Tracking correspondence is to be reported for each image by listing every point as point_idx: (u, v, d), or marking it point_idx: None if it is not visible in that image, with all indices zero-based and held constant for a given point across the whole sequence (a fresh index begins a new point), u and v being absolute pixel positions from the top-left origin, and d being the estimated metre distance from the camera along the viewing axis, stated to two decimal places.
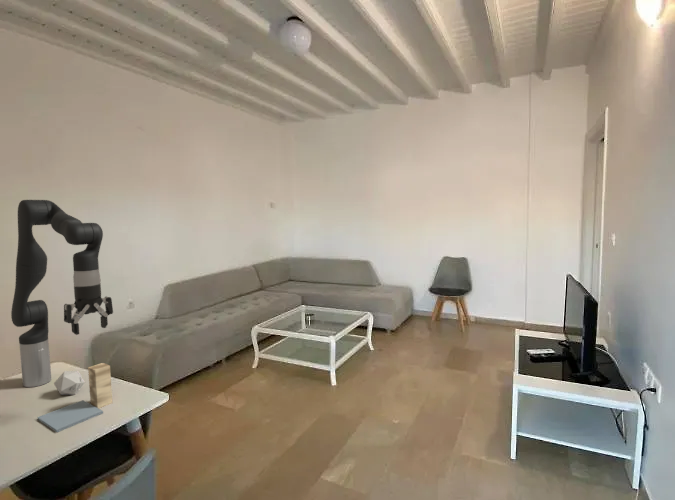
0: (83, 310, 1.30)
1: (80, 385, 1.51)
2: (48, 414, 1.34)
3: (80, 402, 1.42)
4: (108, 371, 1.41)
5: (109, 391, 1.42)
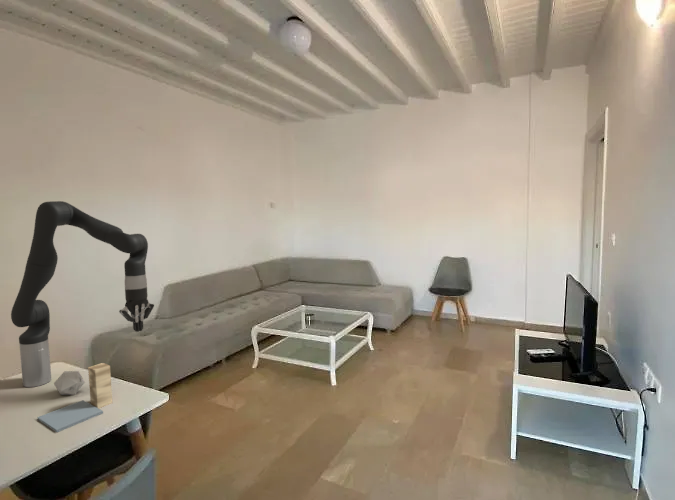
0: (136, 310, 1.50)
1: (80, 385, 1.51)
2: (48, 414, 1.34)
3: (80, 402, 1.42)
4: (108, 371, 1.41)
5: (109, 391, 1.42)
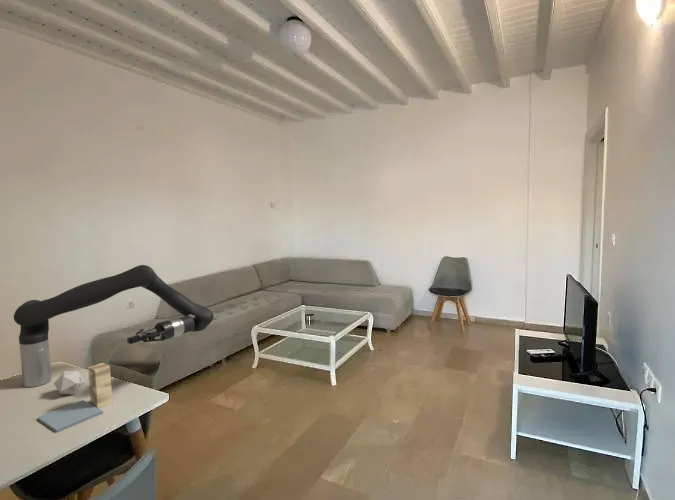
0: None
1: (80, 385, 1.51)
2: (48, 414, 1.34)
3: (80, 402, 1.42)
4: (108, 371, 1.41)
5: (109, 391, 1.42)
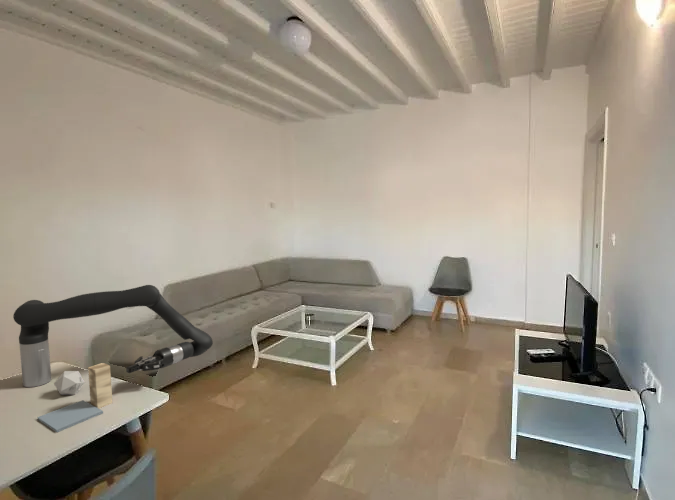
0: None
1: (80, 385, 1.51)
2: (48, 414, 1.34)
3: (80, 402, 1.42)
4: (108, 371, 1.41)
5: (109, 391, 1.42)
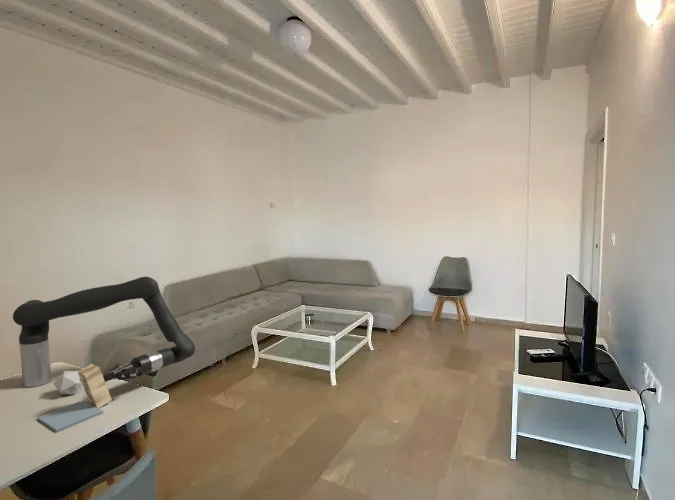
0: None
1: (80, 385, 1.51)
2: (48, 414, 1.34)
3: (80, 402, 1.42)
4: (99, 372, 1.39)
5: (105, 390, 1.41)
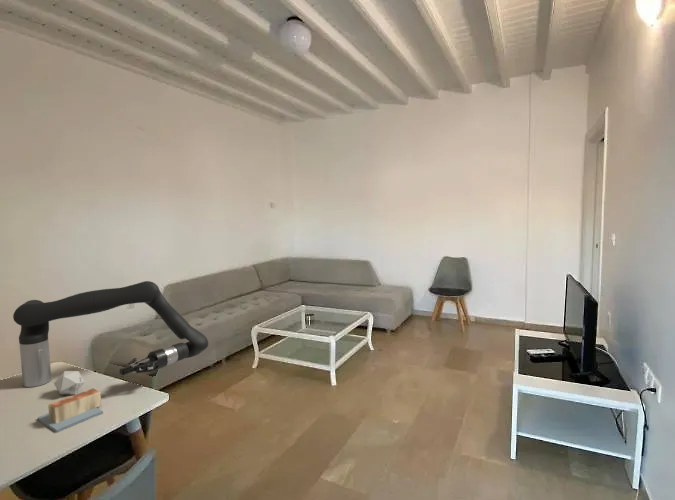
0: None
1: (80, 385, 1.51)
2: (48, 414, 1.34)
3: None
4: (61, 408, 1.29)
5: (86, 399, 1.36)
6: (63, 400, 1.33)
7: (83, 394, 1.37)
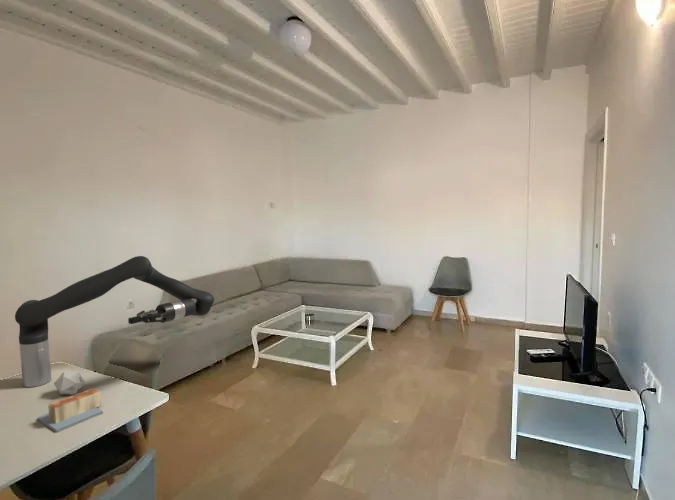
0: None
1: (80, 385, 1.51)
2: (48, 414, 1.34)
3: None
4: (61, 408, 1.29)
5: (86, 399, 1.36)
6: (63, 400, 1.33)
7: (83, 394, 1.37)
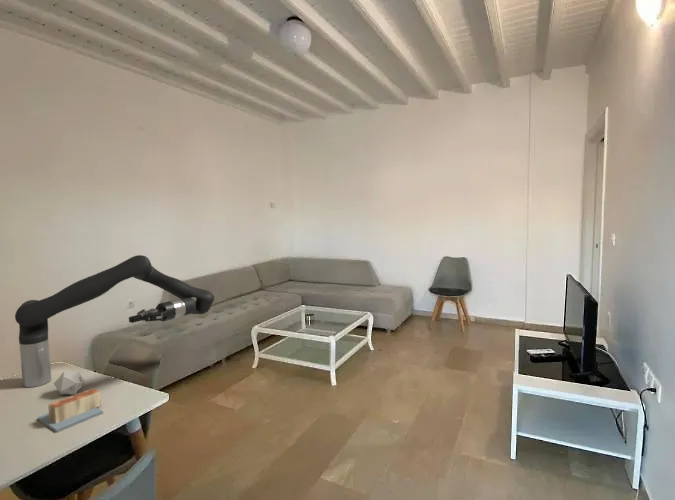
0: None
1: (80, 385, 1.51)
2: (48, 414, 1.34)
3: None
4: (61, 408, 1.29)
5: (86, 399, 1.36)
6: (63, 400, 1.33)
7: (83, 394, 1.37)
